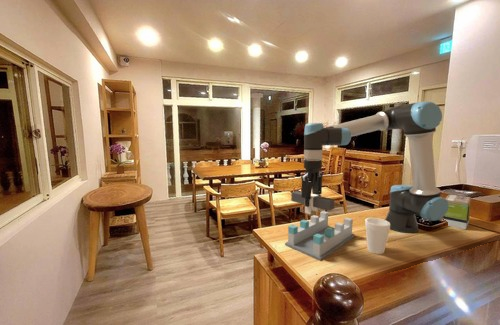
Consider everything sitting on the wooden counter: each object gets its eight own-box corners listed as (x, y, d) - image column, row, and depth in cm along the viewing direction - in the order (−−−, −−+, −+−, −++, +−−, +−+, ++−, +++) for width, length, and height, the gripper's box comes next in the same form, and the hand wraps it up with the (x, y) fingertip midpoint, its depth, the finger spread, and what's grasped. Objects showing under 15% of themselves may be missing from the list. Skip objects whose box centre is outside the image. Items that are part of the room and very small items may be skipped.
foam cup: (384, 246, 104) (385, 218, 102) (391, 257, 95) (393, 226, 93) (361, 244, 106) (362, 217, 104) (366, 254, 97) (368, 225, 95)
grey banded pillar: (334, 209, 96) (334, 198, 95) (328, 211, 93) (329, 200, 92) (296, 199, 110) (297, 190, 109) (290, 201, 107) (291, 192, 106)
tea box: (446, 217, 137) (448, 193, 135) (469, 222, 130) (472, 197, 128) (441, 224, 127) (444, 198, 125) (466, 230, 120) (469, 202, 118)
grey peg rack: (354, 236, 114) (355, 218, 113) (320, 260, 92) (320, 239, 91) (321, 225, 127) (322, 210, 126) (285, 245, 106) (285, 226, 104)
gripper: (316, 157, 107) (314, 205, 110) (293, 160, 95) (292, 214, 98) (331, 158, 102) (329, 209, 105) (308, 162, 90) (307, 219, 93)
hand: (311, 211), depth 102 cm, fingers closed on grey banded pillar, 5 cm apart
